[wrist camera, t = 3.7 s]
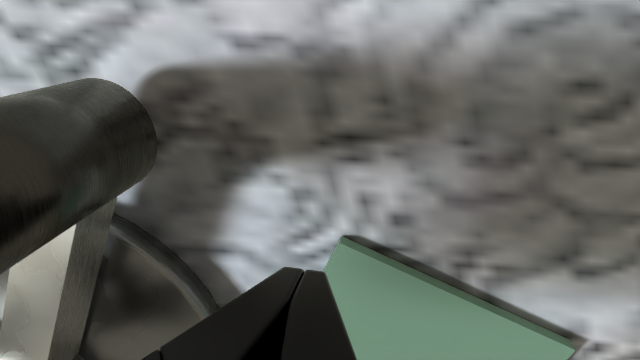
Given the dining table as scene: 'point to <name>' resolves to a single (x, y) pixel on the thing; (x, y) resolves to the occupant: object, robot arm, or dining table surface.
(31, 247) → the handwheel crank
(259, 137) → the dining table surface
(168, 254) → the crank base
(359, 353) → the felt pad
